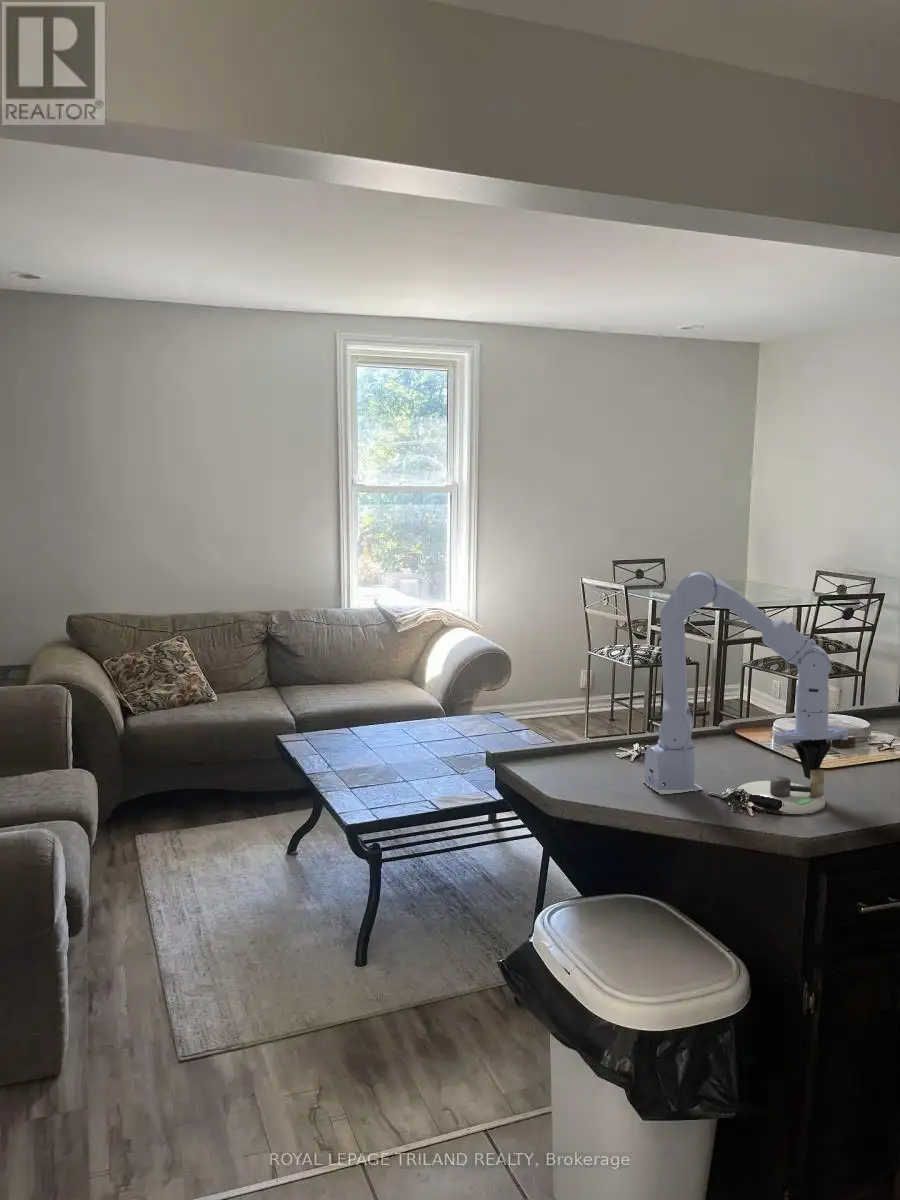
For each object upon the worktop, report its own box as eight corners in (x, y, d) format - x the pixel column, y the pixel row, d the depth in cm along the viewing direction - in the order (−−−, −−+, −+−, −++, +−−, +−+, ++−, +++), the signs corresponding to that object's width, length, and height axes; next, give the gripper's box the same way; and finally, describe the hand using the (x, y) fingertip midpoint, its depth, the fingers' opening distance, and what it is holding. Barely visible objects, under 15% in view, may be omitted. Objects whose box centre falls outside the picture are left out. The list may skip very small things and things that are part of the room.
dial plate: (768, 819, 156) (768, 812, 156) (720, 790, 172) (720, 784, 171) (844, 809, 160) (844, 803, 160) (790, 782, 175) (790, 776, 175)
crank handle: (770, 796, 164) (771, 771, 164) (769, 789, 168) (770, 765, 167) (824, 799, 162) (825, 774, 161) (822, 793, 165) (822, 768, 165)
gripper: (833, 701, 170) (831, 768, 171) (765, 706, 167) (764, 774, 169) (856, 710, 163) (854, 779, 164) (786, 715, 160) (784, 786, 162)
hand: (810, 777), depth 166 cm, fingers closed, pressing on crank handle
